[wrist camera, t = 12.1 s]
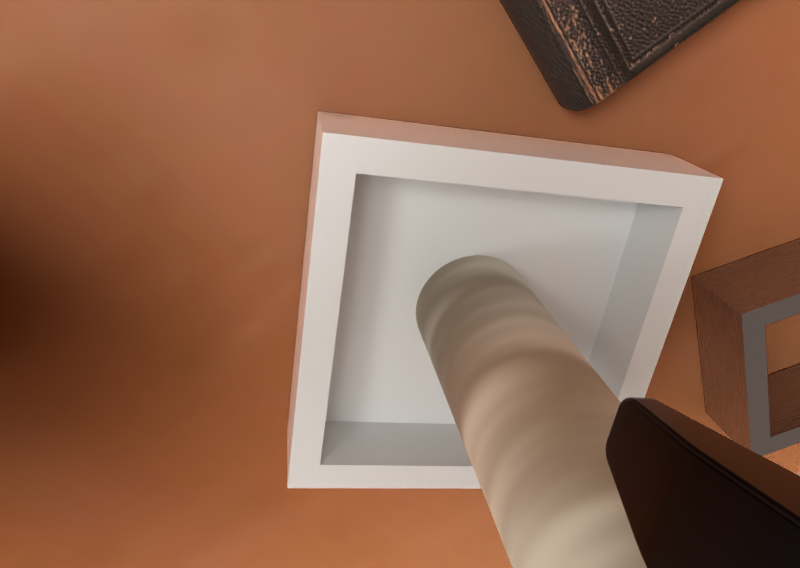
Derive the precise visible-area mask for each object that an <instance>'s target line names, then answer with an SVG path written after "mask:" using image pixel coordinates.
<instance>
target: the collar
mask: <svg viewBox="0 0 800 568" xmlns="http://www.w3.org/2000/svg"><path fill="white" fill-rule="evenodd" d="M692 286H693V296H694V305H695V314H696V324H697V333H698V343H699V352H700V361H701V371H702V380H703V389H704V399H705V408H706V413H707V414H708V415H709V416H710V417H711V418H712V419H713V420H714V421H715V422H716V423H717V424H718V426H719V427H720V428H721V429H722V430H723V431H724V432H725V433H726V434H727V435H728V436H729V437H730V438H731V439H732V440H733V441H734V442H736V443H738V444H740V445H742V446H744V447H746V448H747V449H749V450H751V451H753V452H755V453H757V454H759V455H761V456H763V455H766V454H769V453H772V452H774V451H777V450H780V449H783V448H785V447H788V446H791V445H794V444H797V443H799V442H800V364H798V365H796V366H793V367H790V368H787V369H785V370H782V371H779V372H776V373H773V374H771V375H768V376H767V357H766V336H765V325H768V324H771V323H773V322H776V321H779V320H782V319H785V318H787V317H790V316H793V315H796V314H799V313H800V238H799V239H797V240H794V241H791V242H788V243H785V244H783V245H780V246H777V247H774V248H771V249H769V250H766V251H763V252H760V253H757V254H755V255H752V256H749V257H746V258H743V259H741V260H738V261H735V262H732V263H729V264H727V265H724V266H721V267H718V268H715V269H712V270H710V271H707V272H704V273H701V274H698V275H696V276H693V277H692Z"/></svg>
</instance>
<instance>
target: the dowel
mask: <svg viewBox="0 0 800 568" xmlns="http://www.w3.org/2000/svg"><path fill="white" fill-rule="evenodd" d="M416 322H417V325H418V328H419V331H420V334H421V336H422V339H423V341H424V344H425V346H426V349H427V351H428V354H429V356H430V359H431V362H432V364H433V367H434V369H435V372H436V374H437V377H438V379H439V382H440V385H441V387H442V390H443V392H444V395H445V397H446V400H447V402H448V405H449V407H450V410H451V413H452V415H453V418H454V420H455V423H456V425H457V428H458V430H459V433H460V435H461V438H462V441H463V443H464V446H465V448H466V451H467V453H468V456H469V458H470V461H471V463H472V466H473V469H474V471H475V474H476V476H477V479H478V481H479V484H480V486H481V489H482V491H483V494H484V497H485V499H486V502H487V504H488V507H489V509H490V512H491V514H492V517H493V519H494V522H495V525H496V527H497V530H498V532H499V535H500V537H501V540H502V542H503V545H504V547H505V550H506V553H507V555H508V558H509V560H510V563H511V565H512V568H647V567H646V565H645V562H644V560H643V558H642V556H641V553H640V551H639V548H638V546H637V543H636V540H635V538H634V535H633V532H632V529H631V527H630V524H629V521H628V518H627V515H626V513H625V510H624V507H623V504H622V501H621V499H620V496H619V493H618V490H617V487H616V485H615V482H614V479H613V476H612V474H611V471H610V468H609V465H608V462H607V459H606V451H605V448H606V442H607V438H608V436H609V433H610V430H611V427H612V424H613V421H614V418H615V415H616V413H617V410H618V407H619V405H620V403H621V402H620V401H619V400H618V398H617V397H616V396H615V395H614V393H613V392H612V391H611V390H610V388H609V387H608V386H607V385H606V383H605V382H604V381H603V380H602V378H601V377H600V376H599V375H598V373H597V372H596V371H595V370H594V368H593V367H592V366H591V365H590V363H589V362H588V361H587V359H586V358H585V357H584V356H583V354H582V353H581V352H580V351H579V349H578V348H577V347H576V346H575V344H574V343H573V342H572V341H571V339H570V338H569V337H568V336H567V334H566V333H565V332H564V331H563V329H562V328H561V327H560V326H559V324H558V323H557V322H556V321H555V319H554V318H553V317H552V316H551V314H550V313H549V312H548V311H547V309H546V308H545V307H544V306H543V304H542V303H541V302H540V301H539V299H538V298H537V297H536V295H535V294H534V293H533V292H532V290H531V289H530V288H529V287H528V285H527V284H526V283H525V282H524V280H523V279H522V278H521V277H520V275H519V274H518V273H517V272H516V271H515V270H514V269H513V268H512V267H511V266H510V265H509V264H507V263H506V262H504V261H502V260H500V259H497V258H494V257H490V256H482V255H475V256H467V257H462V258H459V259H456V260H454V261H451V262H449V263H448V264H446V265H444V266H442V267H441V268H440V269H438V270H437V271H436V272H435V273H434V274H433V275H432V276H431V277H430V278H429V279H428V280H427V282H426V283H425V285H424V286H423V288H422V290H421V292H420V294H419V297H418V300H417V305H416Z"/></svg>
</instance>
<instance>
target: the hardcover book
mask: <svg viewBox="0 0 800 568" xmlns="http://www.w3.org/2000/svg"><path fill="white" fill-rule="evenodd" d="M500 1H501V3H502V5H503V7H504V8H505V10H506V12H507V14H508V15H509V17H510V19H511V21H512V22H513V24H514V26H515V28H516V29H517V31H518V33H519V35H520V36H521V38H522V40H523V42H524V43H525V45H526V47H527V49H528V50H529V52H530V54H531V56H532V57H533V59H534V61H535V63H536V64H537V66H538V68H539V69H540V71H541V73H542V75H543V76H544V78H545V80H546V82H547V83H548V85H549V87H550V89H551V90H552V92H553V94H554V96H555V97H556V99H557V101H558V103H559V104H560V105H561V106H563V107H564V108H566V109H569V110H573V111H580V110H584V109H587V108H589V107H592V106H594V105H596V104H598V103H600V102H601V101H603V100H604V99H605V98H607V97H608V96H609V95H611V94H612V93H614V92H615V91H616V90H618V89H619V88H620V87H622V86H623V85H624V84H626V83H627V82H629V81H630V80H631V79H633V78H634V77H635V76H637V75H638V74H640V73H641V72H642V71H644V70H645V69H646V68H648V67H649V66H650V65H652V64H653V63H655V62H656V61H657V60H659V59H660V58H661V57H663V56H664V55H666V54H667V53H668V52H670V51H671V50H672V49H674V48H675V47H676V46H678V45H679V44H681V43H682V42H683V41H685V40H686V39H687V38H689V37H690V36H692V35H693V34H694V33H696V32H697V31H698V30H700V29H701V28H703V27H704V26H705V25H707V24H708V23H709V22H711V21H712V20H713V19H715V18H716V17H718V16H719V15H720V14H722V13H723V12H724V11H726V10H727V9H729V8H730V7H731V6H733V5H734V4H735V3H737V2H738V1H739V0H500Z"/></svg>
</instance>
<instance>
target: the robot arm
mask: <svg viewBox="0 0 800 568" xmlns="http://www.w3.org/2000/svg"><path fill="white" fill-rule="evenodd" d="M605 451H606V459H607V462H608V465H609V468H610V471H611V474H612V476H613V479H614V482H615V485H616V487H617V490H618V493H619V496H620V499H621V501H622V504H623V507H624V510H625V513H626V515H627V518H628V521H629V524H630V527H631V529H632V532H633V535H634V538H635V540H636V543H637V546H638V548H639V551H640V553H641V556H642V558H643V560H644V562H645V565H646V567H647V568H800V476H798V475H796V474H795V473H793V472H791V471H789V470H787V469H785V468H783V467H781V466H779V465H778V464H776V463H774V462H772V461H770V460H768V459H766V458H764V457H763V456H761V455H759V454H757V453H755V452H753V451H751V450H749V449H747V448H746V447H744V446H742V445H740V444H738V443H736V442H734V441H732V440H730V439H729V438H727V437H725V436H723V435H721V434H719V433H717V432H715V431H714V430H712V429H710V428H708V427H706V426H704V425H702V424H700V423H698V422H697V421H695V420H693V419H691V418H689V417H687V416H685V415H683V414H681V413H680V412H678V411H676V410H674V409H672V408H670V407H668V406H666V405H664V404H663V403H661V402H659V401H657V400H655V399H652V398H639V397H628V398H625V399H624V400H622V402H621V403H620V405H619V407H618V410H617V413H616V415H615V418H614V421H613V424H612V427H611V430H610V433H609V436H608V438H607V442H606V448H605Z"/></svg>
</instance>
